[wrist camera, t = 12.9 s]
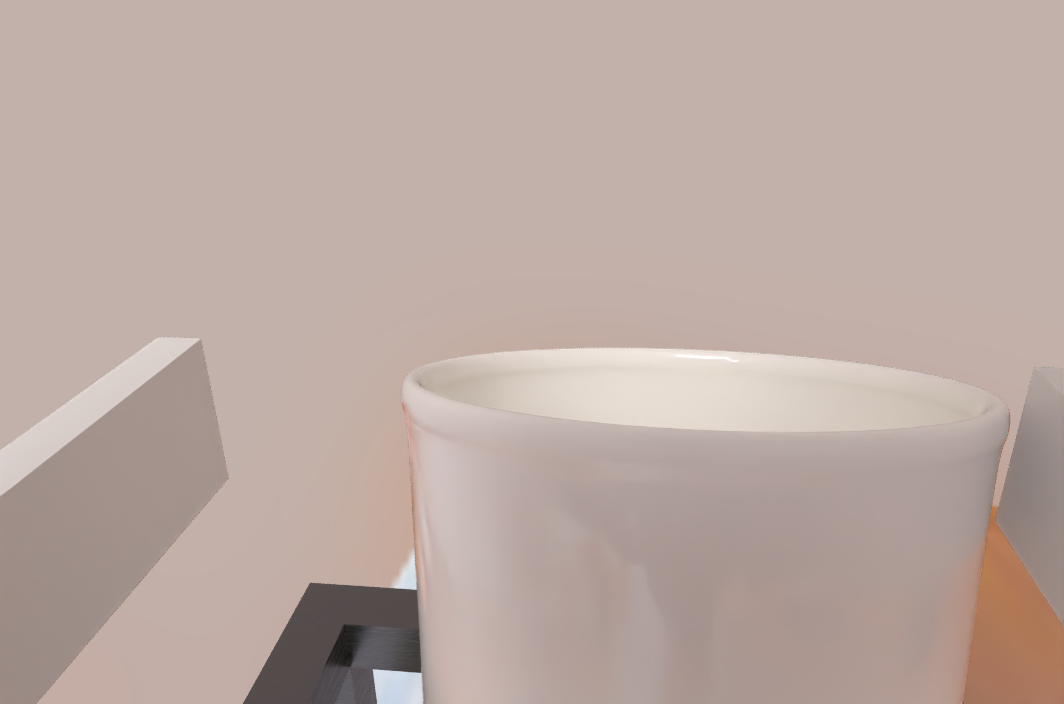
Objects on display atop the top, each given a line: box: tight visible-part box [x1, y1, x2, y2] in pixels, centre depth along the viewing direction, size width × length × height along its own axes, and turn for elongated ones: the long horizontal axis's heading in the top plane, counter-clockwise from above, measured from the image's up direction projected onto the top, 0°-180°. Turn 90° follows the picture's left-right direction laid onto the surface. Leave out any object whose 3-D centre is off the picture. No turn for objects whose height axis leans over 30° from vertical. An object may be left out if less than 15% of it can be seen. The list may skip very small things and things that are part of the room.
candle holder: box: [401, 348, 1010, 704], centre depth 15 cm, size 10×10×12 cm
